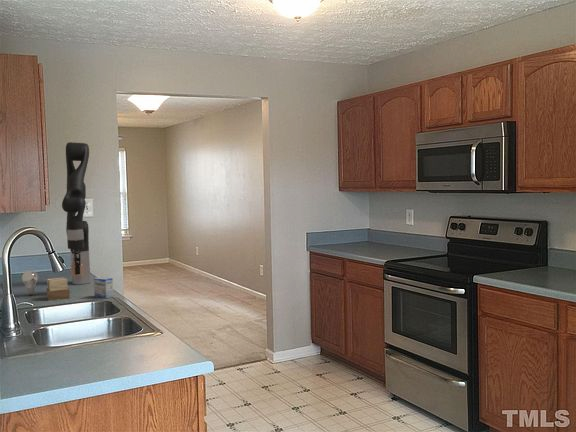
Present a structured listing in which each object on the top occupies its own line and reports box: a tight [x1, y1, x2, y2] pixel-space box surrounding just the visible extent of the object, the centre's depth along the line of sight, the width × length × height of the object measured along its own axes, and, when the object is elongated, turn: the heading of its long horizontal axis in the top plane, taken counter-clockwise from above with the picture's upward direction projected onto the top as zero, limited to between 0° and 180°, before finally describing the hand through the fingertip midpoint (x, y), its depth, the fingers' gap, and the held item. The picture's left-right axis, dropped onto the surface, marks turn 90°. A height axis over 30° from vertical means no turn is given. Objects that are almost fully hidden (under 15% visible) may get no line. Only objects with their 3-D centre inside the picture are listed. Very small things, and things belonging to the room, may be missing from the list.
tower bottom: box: [46, 287, 71, 301], centre depth 257 cm, size 9×9×4 cm
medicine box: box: [93, 277, 114, 299], centre depth 256 cm, size 8×4×9 cm, turn 62°
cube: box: [70, 263, 83, 277], centre depth 268 cm, size 5×5×5 cm
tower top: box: [46, 276, 69, 291], centre depth 256 cm, size 8×8×4 cm
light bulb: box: [21, 269, 39, 296], centre depth 265 cm, size 7×7×12 cm
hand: (77, 273), depth 268 cm, fingers closed on cube, 5 cm apart
